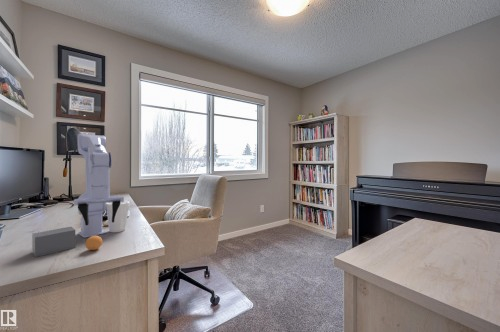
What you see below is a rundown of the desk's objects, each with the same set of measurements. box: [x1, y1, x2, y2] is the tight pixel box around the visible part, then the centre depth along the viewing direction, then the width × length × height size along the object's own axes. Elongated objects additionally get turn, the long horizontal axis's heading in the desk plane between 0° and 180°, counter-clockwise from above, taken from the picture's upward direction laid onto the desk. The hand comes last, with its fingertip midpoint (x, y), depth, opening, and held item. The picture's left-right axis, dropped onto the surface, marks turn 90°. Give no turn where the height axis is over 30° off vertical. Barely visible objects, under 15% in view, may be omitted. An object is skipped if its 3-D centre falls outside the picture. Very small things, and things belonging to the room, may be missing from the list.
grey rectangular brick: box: [31, 226, 76, 258], centre depth 76 cm, size 6×11×7 cm, turn 142°
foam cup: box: [106, 200, 131, 233], centre depth 99 cm, size 10×9×13 cm
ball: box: [84, 235, 103, 251], centre depth 77 cm, size 5×5×5 cm
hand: (100, 223), depth 76 cm, fingers open, 7 cm apart
